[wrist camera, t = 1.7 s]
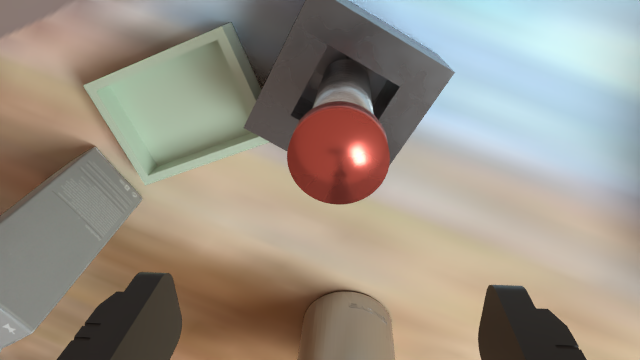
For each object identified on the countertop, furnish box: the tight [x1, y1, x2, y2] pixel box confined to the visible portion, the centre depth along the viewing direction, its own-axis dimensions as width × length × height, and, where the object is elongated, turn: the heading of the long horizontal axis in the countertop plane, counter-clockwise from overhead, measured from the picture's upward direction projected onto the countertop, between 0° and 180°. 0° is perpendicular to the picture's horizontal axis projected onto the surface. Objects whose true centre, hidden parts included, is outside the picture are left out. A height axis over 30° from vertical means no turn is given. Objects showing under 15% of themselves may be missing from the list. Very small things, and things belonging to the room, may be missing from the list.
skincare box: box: [0, 147, 142, 352], centre depth 32 cm, size 8×7×16 cm
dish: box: [83, 22, 269, 185], centre depth 33 cm, size 12×9×2 cm
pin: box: [287, 59, 390, 204], centre depth 25 cm, size 5×5×14 cm
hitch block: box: [243, 0, 455, 165], centre depth 30 cm, size 10×10×6 cm
